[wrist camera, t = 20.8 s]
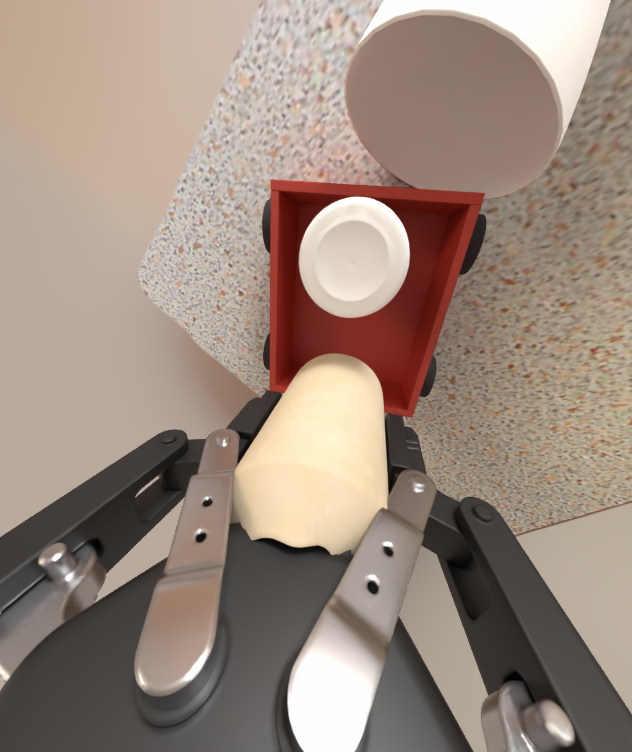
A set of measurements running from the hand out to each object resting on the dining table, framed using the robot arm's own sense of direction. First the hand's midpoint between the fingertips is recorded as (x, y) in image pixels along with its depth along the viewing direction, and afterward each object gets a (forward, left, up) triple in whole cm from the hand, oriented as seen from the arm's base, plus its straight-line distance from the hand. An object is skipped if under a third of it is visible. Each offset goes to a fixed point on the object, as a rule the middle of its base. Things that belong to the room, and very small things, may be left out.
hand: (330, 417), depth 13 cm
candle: (0, 0, -3) cm, 3 cm away
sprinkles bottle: (-7, 0, -14) cm, 16 cm away
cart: (-3, 0, -14) cm, 15 cm away
